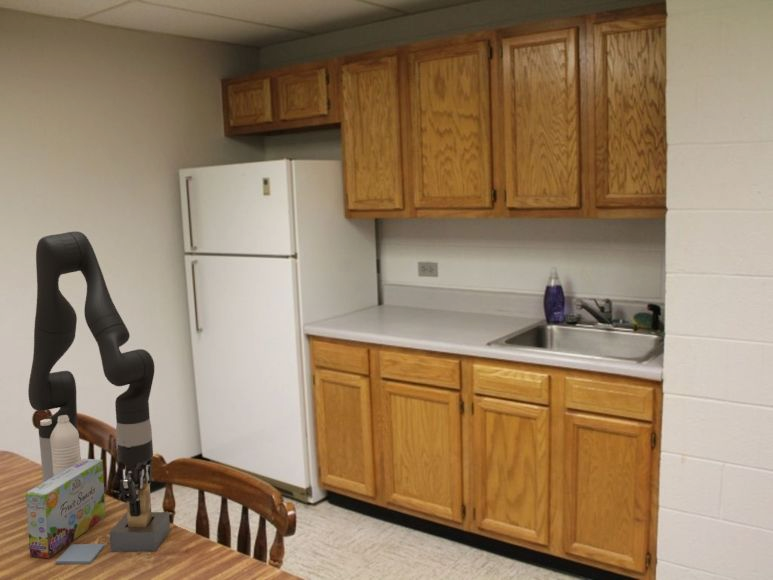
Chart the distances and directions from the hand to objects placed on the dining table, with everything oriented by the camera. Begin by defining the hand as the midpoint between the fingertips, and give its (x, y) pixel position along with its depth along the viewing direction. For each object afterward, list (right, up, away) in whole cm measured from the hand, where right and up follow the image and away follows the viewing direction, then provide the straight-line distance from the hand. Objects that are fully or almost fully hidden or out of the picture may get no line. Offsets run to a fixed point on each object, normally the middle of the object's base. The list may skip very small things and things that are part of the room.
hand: (139, 510), depth 163 cm
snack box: (-17, -7, +4) cm, 19 cm away
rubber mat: (-11, -8, -5) cm, 15 cm away
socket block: (0, -7, +1) cm, 7 cm away
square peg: (0, -5, +1) cm, 5 cm away
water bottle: (-23, -6, +15) cm, 29 cm away
